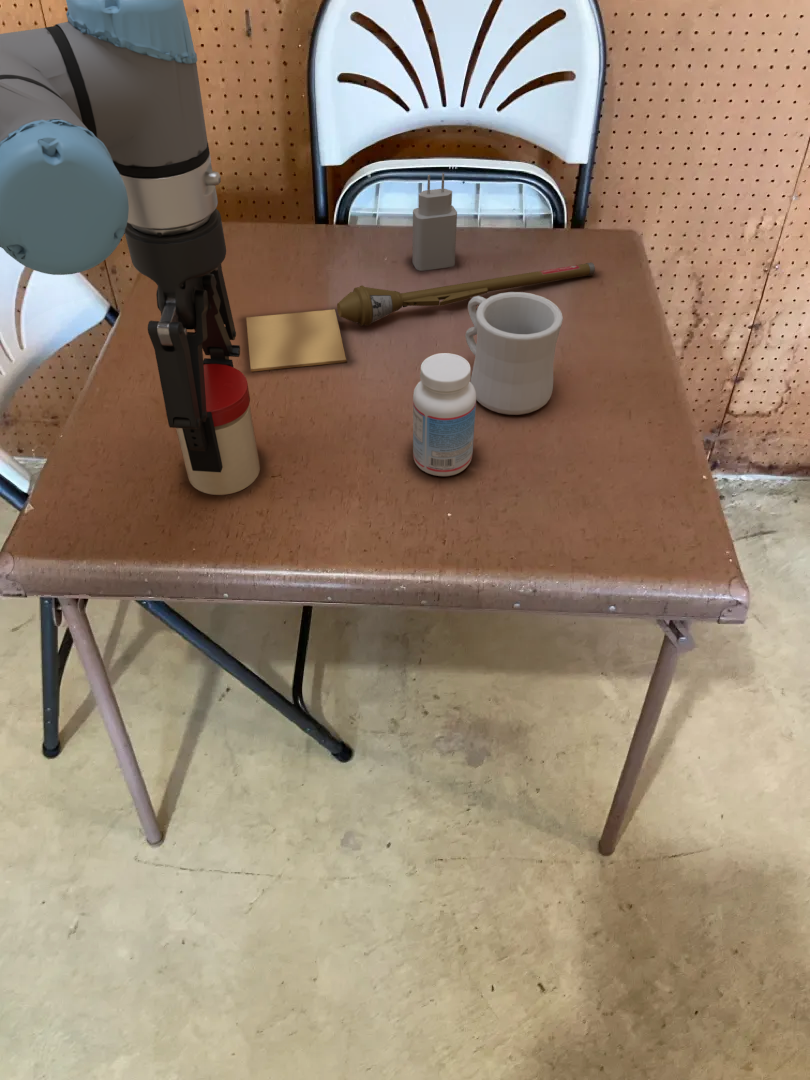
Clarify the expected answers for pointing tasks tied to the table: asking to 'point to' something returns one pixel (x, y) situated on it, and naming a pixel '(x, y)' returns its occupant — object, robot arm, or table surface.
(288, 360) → the coaster
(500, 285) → the toy grenade launcher
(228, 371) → the lid
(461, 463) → the pill bottle
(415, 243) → the power adapter
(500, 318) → the mug
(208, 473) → the beige jar
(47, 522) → the table surface
